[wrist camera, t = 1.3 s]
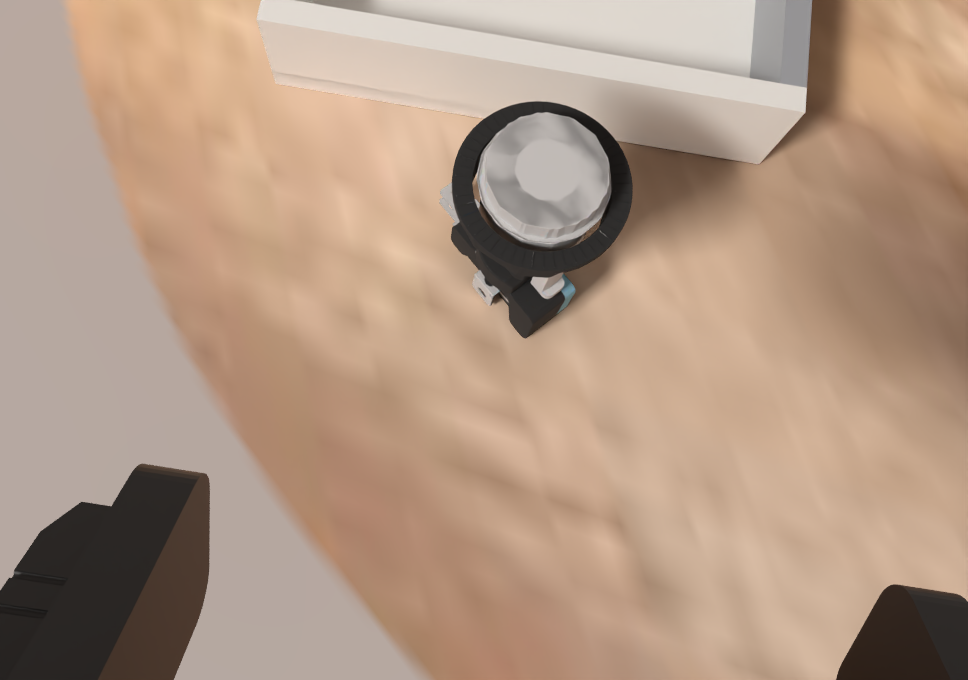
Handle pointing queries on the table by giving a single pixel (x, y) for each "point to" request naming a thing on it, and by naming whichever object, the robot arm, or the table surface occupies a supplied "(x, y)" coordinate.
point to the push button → (536, 204)
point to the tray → (564, 62)
